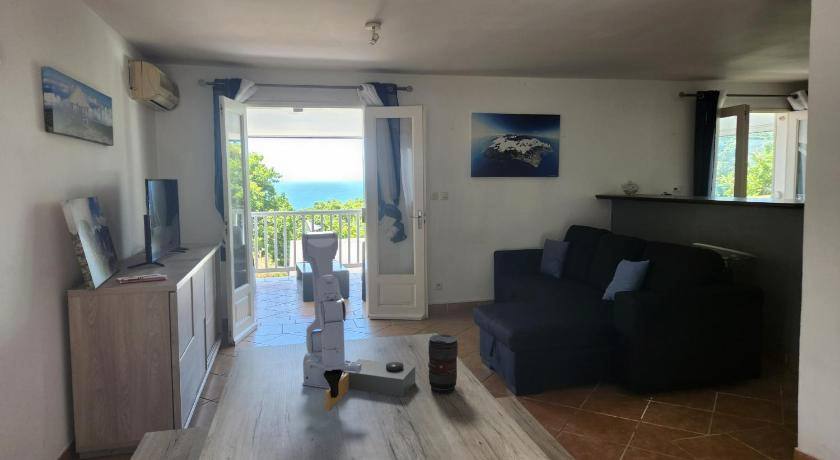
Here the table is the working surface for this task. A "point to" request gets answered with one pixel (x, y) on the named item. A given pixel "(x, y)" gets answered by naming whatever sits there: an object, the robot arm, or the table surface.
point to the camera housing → (382, 377)
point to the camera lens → (443, 363)
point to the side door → (342, 390)
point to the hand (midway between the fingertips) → (334, 396)
